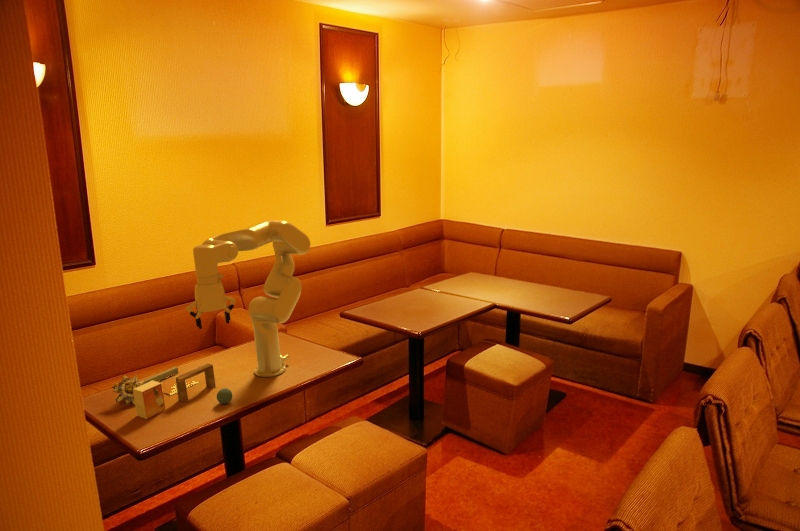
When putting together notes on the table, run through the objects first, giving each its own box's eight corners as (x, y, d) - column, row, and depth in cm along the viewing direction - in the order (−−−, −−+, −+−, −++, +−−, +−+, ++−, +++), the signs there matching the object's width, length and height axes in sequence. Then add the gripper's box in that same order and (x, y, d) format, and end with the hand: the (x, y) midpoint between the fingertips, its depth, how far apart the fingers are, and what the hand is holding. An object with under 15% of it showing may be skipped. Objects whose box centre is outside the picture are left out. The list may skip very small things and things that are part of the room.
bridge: (178, 400, 209) (175, 377, 206) (210, 384, 220) (207, 363, 218) (183, 402, 207) (180, 379, 205) (215, 386, 219) (212, 364, 216)
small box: (146, 419, 196) (141, 392, 193) (136, 416, 198) (131, 388, 196) (166, 409, 202) (162, 382, 200) (156, 406, 205) (152, 379, 202)
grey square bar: (175, 372, 234) (174, 366, 233) (178, 373, 233) (177, 367, 232) (140, 387, 221) (139, 381, 220) (143, 388, 220) (142, 382, 219)
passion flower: (136, 417, 209) (117, 402, 200) (120, 405, 215) (100, 390, 206) (158, 392, 214) (140, 376, 205) (142, 381, 220) (123, 365, 211)
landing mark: (179, 375, 230) (179, 375, 230) (199, 382, 223) (199, 382, 223) (150, 388, 220) (150, 388, 220) (170, 395, 213) (170, 395, 212)
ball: (226, 398, 209) (224, 384, 207) (236, 401, 206) (234, 387, 204) (214, 404, 204) (212, 390, 203) (224, 408, 201) (222, 394, 200)
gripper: (230, 273, 206) (235, 317, 210) (180, 281, 198) (187, 327, 202) (235, 277, 199) (240, 323, 203) (184, 286, 191) (190, 333, 195)
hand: (214, 325), depth 203 cm, fingers open, 9 cm apart
